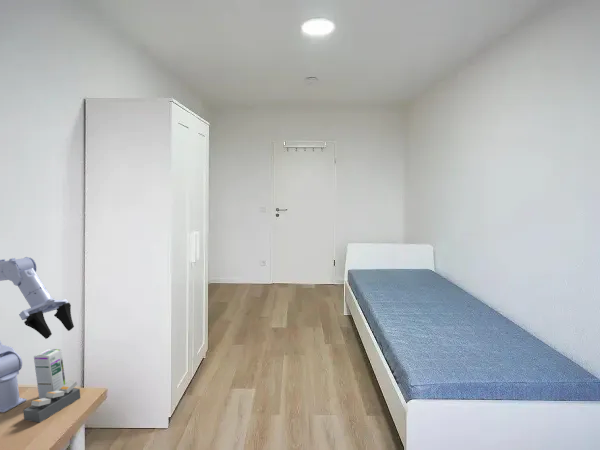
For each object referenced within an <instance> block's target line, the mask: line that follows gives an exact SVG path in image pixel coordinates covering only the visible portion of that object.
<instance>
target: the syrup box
mask: <svg viewBox="0 0 600 450" xmlns="http://www.w3.org/2000/svg"><path fill="white" fill-rule="evenodd" d="M62 353H63V352H62V349H57V348H50V349H49V348H47V349H45V350H44V351H42V352H39V353H38V354H35V355H34V356H33V362H34V368H35V369H34V370H35V377H36V384H37V392H38V398H39V399H42V398H46V393H48V392H53V391H57V390H60V388H61V387H63V386H64V385H65V384H66V378H65V370H64V369H65V368H64V360H63V354H62Z"/></svg>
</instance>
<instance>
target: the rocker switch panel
mask: <svg viewBox="0 0 600 450" xmlns="http://www.w3.org/2000/svg"><path fill="white" fill-rule="evenodd" d="M59 391H60V390H59ZM46 398H47V399H51V401H50V403H49V404H46V405H42V406H33V405H30V406H28V407H26V408H25V409H23V410H22V412H23V421H29V422H33V423H34V422H35V423H42V422H43V421H45V420H47V419H48V418H50V417H52V416H53V415H55V414H56V413H58V412H60V411H61V410H63V409H65V408H66V407H68V406H69V405H71V404H73V403H75V402H76V401H78V400H80V399H81V390H80V388H75V387H74V388H73V389H72V390H71V391H70V392H69V393H64V396H60V397H56V398H49V397H46Z"/></svg>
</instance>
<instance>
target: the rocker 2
mask: <svg viewBox="0 0 600 450" xmlns="http://www.w3.org/2000/svg"><path fill="white" fill-rule="evenodd" d="M60 396H64V391H59V390H57V391H53V392H48V393H46V397H49V398H56V397H60Z"/></svg>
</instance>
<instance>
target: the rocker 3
mask: <svg viewBox="0 0 600 450" xmlns="http://www.w3.org/2000/svg"><path fill="white" fill-rule="evenodd" d="M76 386H78V383H77V381H76V380H68V381H67V382H65V385H64V386H63V387H61V388H60V391H64V393H69V392H70V391H71V390H72V389H73V388H75V387H76Z"/></svg>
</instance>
